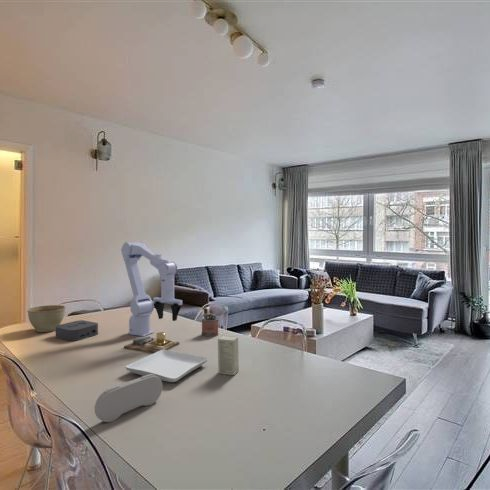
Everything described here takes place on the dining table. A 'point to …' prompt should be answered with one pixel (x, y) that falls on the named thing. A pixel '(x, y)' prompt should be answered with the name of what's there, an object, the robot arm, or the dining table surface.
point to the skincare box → (228, 355)
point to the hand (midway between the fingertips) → (167, 319)
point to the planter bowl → (46, 317)
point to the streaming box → (76, 330)
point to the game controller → (128, 397)
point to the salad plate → (167, 365)
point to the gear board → (149, 344)
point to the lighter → (209, 325)
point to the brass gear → (160, 339)
